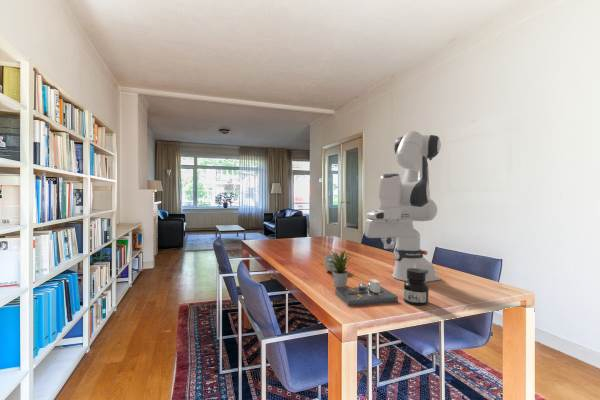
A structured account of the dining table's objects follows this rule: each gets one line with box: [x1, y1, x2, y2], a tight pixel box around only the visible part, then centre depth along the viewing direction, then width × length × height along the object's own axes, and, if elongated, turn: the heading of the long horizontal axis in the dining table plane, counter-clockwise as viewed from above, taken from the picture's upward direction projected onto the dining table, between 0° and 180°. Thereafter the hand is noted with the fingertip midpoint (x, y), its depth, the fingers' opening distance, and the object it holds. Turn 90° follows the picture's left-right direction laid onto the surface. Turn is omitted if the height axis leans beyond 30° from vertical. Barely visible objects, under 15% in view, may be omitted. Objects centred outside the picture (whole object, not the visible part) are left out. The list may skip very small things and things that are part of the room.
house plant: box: [326, 249, 354, 288], centre depth 135 cm, size 14×14×16 cm
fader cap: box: [369, 278, 381, 293], centre depth 119 cm, size 2×4×4 cm, turn 13°
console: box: [334, 282, 399, 307], centre depth 118 cm, size 20×14×4 cm
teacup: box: [324, 253, 345, 273], centre depth 157 cm, size 14×11×8 cm
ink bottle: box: [402, 268, 430, 306], centre depth 114 cm, size 10×9×12 cm
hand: (388, 248), depth 120 cm, fingers closed
